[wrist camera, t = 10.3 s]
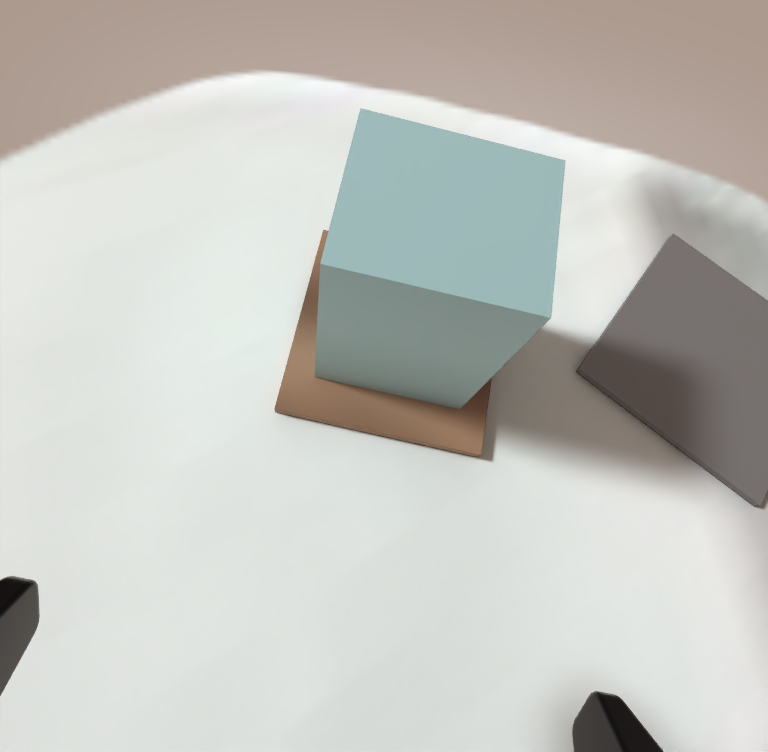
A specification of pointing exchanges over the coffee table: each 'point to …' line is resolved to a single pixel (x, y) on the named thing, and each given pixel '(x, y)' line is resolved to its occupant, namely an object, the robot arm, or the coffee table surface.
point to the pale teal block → (435, 260)
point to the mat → (693, 365)
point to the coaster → (372, 396)
